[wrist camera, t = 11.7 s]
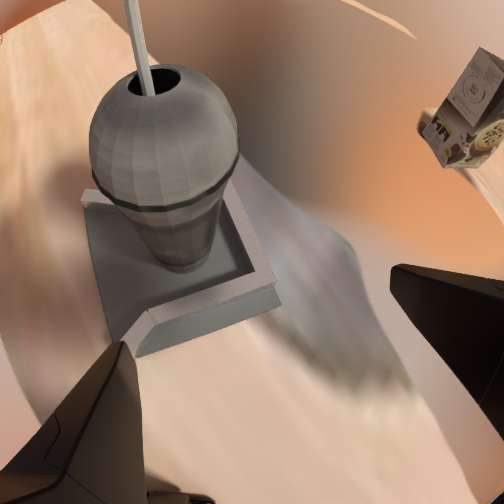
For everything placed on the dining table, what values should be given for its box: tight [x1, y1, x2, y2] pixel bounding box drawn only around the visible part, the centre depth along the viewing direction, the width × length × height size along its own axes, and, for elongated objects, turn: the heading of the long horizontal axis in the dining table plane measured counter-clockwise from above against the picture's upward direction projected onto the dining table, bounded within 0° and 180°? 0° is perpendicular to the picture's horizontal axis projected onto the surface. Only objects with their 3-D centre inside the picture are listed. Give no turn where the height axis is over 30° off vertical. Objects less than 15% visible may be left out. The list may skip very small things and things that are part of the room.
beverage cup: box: [89, 0, 239, 274], centre depth 15 cm, size 7×7×20 cm
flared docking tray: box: [80, 178, 277, 360], centre depth 23 cm, size 13×15×2 cm
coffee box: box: [422, 47, 504, 168], centre depth 27 cm, size 9×6×16 cm
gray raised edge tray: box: [84, 205, 282, 358], centre depth 24 cm, size 13×14×1 cm
